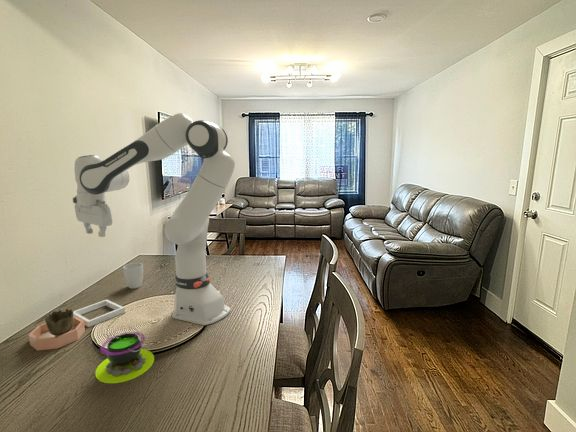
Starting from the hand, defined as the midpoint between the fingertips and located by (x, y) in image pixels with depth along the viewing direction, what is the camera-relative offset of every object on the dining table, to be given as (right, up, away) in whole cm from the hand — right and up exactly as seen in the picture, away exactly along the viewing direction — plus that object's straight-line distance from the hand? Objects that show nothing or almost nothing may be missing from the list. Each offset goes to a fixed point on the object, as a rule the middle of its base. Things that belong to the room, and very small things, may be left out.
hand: (95, 235), depth 120 cm
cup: (+3, -25, +24) cm, 35 cm away
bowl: (-2, -33, -17) cm, 37 cm away
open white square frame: (+2, -30, -2) cm, 30 cm away
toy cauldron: (+28, -36, -31) cm, 55 cm away
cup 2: (0, -32, -19) cm, 37 cm away
